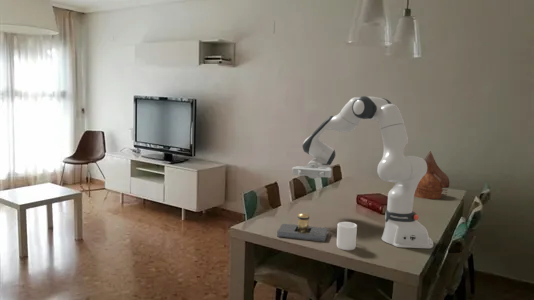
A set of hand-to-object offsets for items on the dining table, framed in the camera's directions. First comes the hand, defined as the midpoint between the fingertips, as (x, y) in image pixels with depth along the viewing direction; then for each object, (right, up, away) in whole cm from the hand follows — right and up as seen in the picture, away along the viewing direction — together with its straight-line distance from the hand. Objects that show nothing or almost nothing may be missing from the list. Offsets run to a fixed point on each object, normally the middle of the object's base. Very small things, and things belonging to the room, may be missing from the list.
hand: (309, 174), depth 216 cm
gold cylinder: (-4, -28, -11) cm, 30 cm away
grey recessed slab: (-4, -28, -11) cm, 30 cm away
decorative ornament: (+85, -18, +73) cm, 113 cm away
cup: (+14, -30, -23) cm, 41 cm away
